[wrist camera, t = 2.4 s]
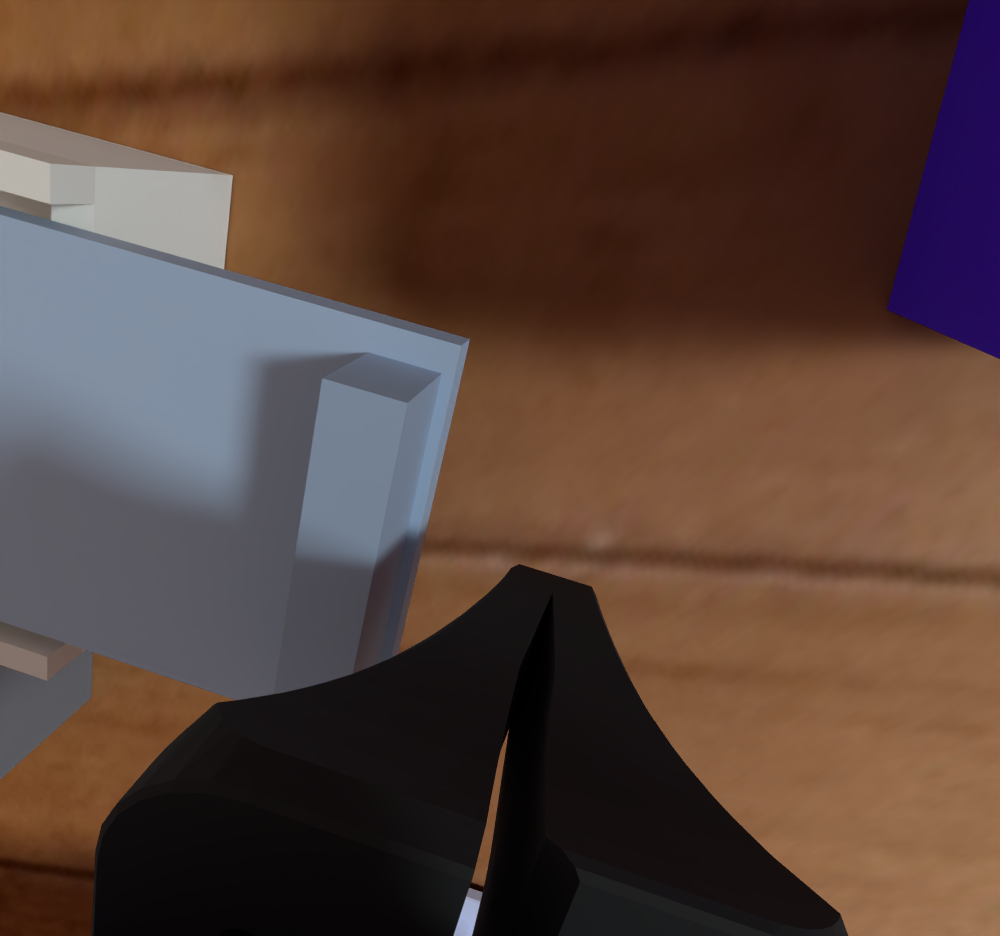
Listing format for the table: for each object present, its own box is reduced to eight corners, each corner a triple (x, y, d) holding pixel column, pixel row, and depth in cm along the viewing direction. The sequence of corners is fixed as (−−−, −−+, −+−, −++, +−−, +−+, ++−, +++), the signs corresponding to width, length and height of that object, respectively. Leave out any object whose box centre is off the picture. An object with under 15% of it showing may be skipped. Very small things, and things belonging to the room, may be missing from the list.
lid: (381, 724, 15) (335, 817, 12) (-133, 554, 16) (-261, 612, 13) (469, 338, 12) (429, 370, 9) (-173, 156, 13) (-347, 147, 10)
